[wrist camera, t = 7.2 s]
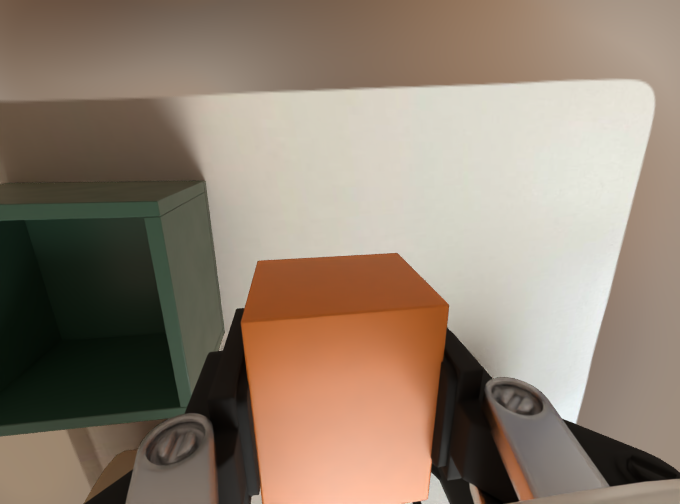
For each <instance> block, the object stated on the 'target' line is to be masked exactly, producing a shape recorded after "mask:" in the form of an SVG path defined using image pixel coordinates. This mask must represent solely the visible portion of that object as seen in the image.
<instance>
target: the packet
mask: <svg viewBox="0 0 680 504" xmlns="http://www.w3.org/2000/svg"><path fill="white" fill-rule="evenodd" d="M448 312H449V304H448V303H447V302H446V301H445V300H444V299H443V298H442V297H441V296H440V295H439V294H438V293H437V292H436V291H435V290H434V289H433V288H432V287H431V286H430V285H429V284H428V283H427V282H426V281H425V280H424V279H423V278H422V277H421V276H420V275H419V274H418V273H417V272H416V271H415V270H414V269H413V268H412V267H411V266H410V265H409V264H408V263H407V262H406V261H405V260H404V259H403V258H402V257H401V256H400V255H399V254H398V253H389V254H371V255H353V256H335V257H317V258H299V259H282V260H264V261H258V262H257V266H256V269H255V273H254V276H253V280H252V284H251V287H250V291H249V294H248V298H247V302H246V305H245V309H244V312H243V316H242V320H241V329H242V337H243V346H244V354H245V362H246V371H247V379H248V382H249V390H250V399H251V407H252V416H253V424H254V433H255V441H256V449H257V458H258V466H259V475H260V488H261V496H262V504H405V503H411V502H417V501H423V500H427V499H428V493H429V484H430V475H431V465H432V459H431V452H432V442H433V433H434V424H435V415H436V406H437V396H438V387H439V378H440V369H441V362H442V361H443V357H444V348H445V339H446V330H447V321H448Z"/></svg>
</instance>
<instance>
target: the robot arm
mask: <svg viewBox="0 0 680 504" xmlns="http://www.w3.org/2000/svg"><path fill="white" fill-rule="evenodd" d="M244 309H245V308H240V309H236V312H235V315H234V318H233V321H232V324H231V327H230V331H229V334H228V337H227V340H226V343H225V346H224V349H223V351H214V352H209V353H208V355H207V357H206V360H205V363H204V365H203V368H202V370H201V373H200V375H199V378H198V380H197V383H196V385H195V388H194V391H193V393H192V396H191V398H190V401H189V403H188V406H187V408H186V411H185V414H181V415H177V416H175V417H172V418H169V419H167V420H165V421H164V422H162V423H160V424H159V425H157V426H156V427H155V428H154V429H152V430H151V431H150V432H149V433H148V434H147V435H146V437H145V438H144V439H143V440H142V442H141V444H140V446H139V448H138V451H137V455H136V459H135V463H134V468H133V469H132V470H131V471H129V472H128V473H127V474H125V475H124V476H122V477H121V478H120V479H118V480H117V481H115V482H114V483H112V484H111V485H110V486H108V487H107V488H105V489H104V490H103V491H101V492H100V493H98V494H97V495H96V496H94V497H93V498H91V499H90V500H89V501H87V502H86V503H84V504H251V496H253V495H259V492H260V475H259V466H258V458H257V449H256V441H255V433H254V424H253V416H252V407H251V399H250V390H249V382H248V379H247V371H246V362H245V354H244V346H243V337H242V329H241V320H242V316H243V312H244ZM431 459H432V462H433V463H434V465H435V466H436V467H441V468H442V470H443V473H444V475H445V477H446V479H447V480H454V479H460V478H462V479H464V480H466V481H467V482H469V485H470V491H471V495H472V498H473V501H474V504H680V472H678V471H677V470H676V469H675V468H674V467H672V466H670V465H669V464H667V463H666V462H664V461H662V460H661V459H659V458H657V457H655V456H653V455H651V454H649V453H647V452H644V451H642V450H639V449H637V448H634V447H632V446H629V445H627V444H624V443H622V442H619V441H617V440H614V439H612V438H609V437H607V436H604V435H602V434H599V433H597V432H594V431H592V430H589V429H587V428H584V427H582V426H579V425H577V424H574V423H572V422H569V421H567V420H564V419H562V418H561V417H560V415H559V414H558V413H557V411H556V410H555V408H554V407H553V405H552V404H551V403H550V401H549V400H548V399H547V397H546V396H545V395H544V394H543V393H542V392H541V391H539V390H538V389H537V388H535V387H534V386H532V385H530V384H528V383H526V382H524V381H521V380H518V379H515V378H508V377H497V378H494V379H492V377H491V376H490V375H489V374H488V373H487V372H486V370H485V369H484V368H483V367H482V366H481V365H480V364H479V362H478V361H477V360H476V359H475V358H474V357H473V356H472V354H471V353H470V352H469V351H468V350H467V349H466V347H465V346H464V345H463V344H462V343H461V342H460V341H459V339H458V338H457V337H456V336H455V335H454V334H453V333H452V332H451V331H450V330H449V329H448V328H447V330H446V339H445V348H444V357H443V361H442V362H441V369H440V378H439V387H438V396H437V406H436V415H435V424H434V433H433V442H432V452H431Z"/></svg>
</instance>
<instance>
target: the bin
mask: <svg viewBox="0 0 680 504" xmlns="http://www.w3.org/2000/svg"><path fill="white" fill-rule="evenodd" d="M224 333H225V331H224V323H223V316H222V308H221V300H220V292H219V284H218V276H217V269H216V261H215V253H214V245H213V237H212V230H211V222H210V214H209V206H208V198H207V190H206V183H205V181H132V182H49V183H4V184H0V436H8V435H18V434H28V433H37V432H46V431H55V430H65V429H75V428H84V427H93V426H103V425H112V424H121V423H131V422H140V421H149V420H159V419H168V418H172V417H175V416H177V415H181V414H185V411H186V408H187V406H188V403H189V401H190V398H191V396H192V393H193V391H194V388H195V385H196V383H197V380H198V378H199V375H200V373H201V370H202V368H203V365H204V363H205V360H206V357H207V355H208V353H209V352H214V351H218V350H219V347H220V344H221V341H222V338H223V336H224Z"/></svg>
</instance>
